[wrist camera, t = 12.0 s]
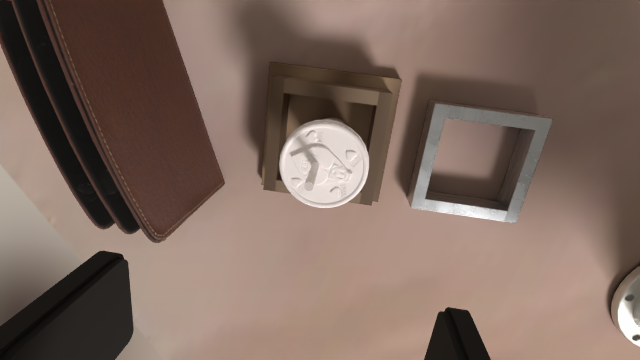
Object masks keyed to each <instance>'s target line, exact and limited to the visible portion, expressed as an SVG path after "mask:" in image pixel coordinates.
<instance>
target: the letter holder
mask: <svg viewBox="0 0 640 360" xmlns="http://www.w3.org/2000/svg"><path fill="white" fill-rule="evenodd" d="M0 44H1V47H2V49H3V52H4V54H5V57H6V59H7V61H8V64H9V66H10V68H11V71H12V73H13V75H14V78H15V80H16V82H17V85H18V87H19V89H20V92H21V94H22V96H23V98H24V100H25V103H26V105H27V107H28V109H29V111H30V113H31V115H32V117H33V119H34V121H35V123H36V125H37V127H38V129H39V131H40V133H41V136H42V138H43V140H44V142H45V144H46V146H47V147H48V149H49V151H50V153H51V155H52V157H53V159H54V161H55V163H56V165H57V167H58V168H59V170H60V172H61V174H62V176H63V177H64V179H65V181H66V183H67V184H68V186H69V188H70V190H71V191H72V193H73V195H74V196H75V198H76V200H77V201H78V203H79V204H80V206H81V207H82V209H83V210H84V212H85V213H86V215H87V216H88V217H89V219H90V220H91V221H92V222H93V223H94V225H95V226H97V227H98V228H100V229H107V228H109V227H111V226H112V225H113V224H115V223H116V224H117V226H118V227H119V229H121V230H122V231H123V232H124V233H126V234H133V233H135V232H137V231H138V230H139V229H140V228H141V229H142V231H143V232H144V234H145V235H146V236H147V237H148V239H149V240H151V241H152V242H154V243H159V242H162V241H164V240H165V239H166V238H167V237H168V236H170V235H171V234H172V233H173V232H174V231H175V230H176V229H177V228H178V227H179V226H180V225H181V224H182V223H183V222H184V221H185V220H186V219H187V218H188V217H189V216H191V215H192V214H193V213H194V212H195V211H196V210H197V209H198V208H199V207H200V206H201V205H203V203H204V202H206V201H207V200H208V199H209V198H210V197H211V196H212V195H213V194H214V193H215V192H217V191H218V190H219V189H220V188H221V187H222V186H223V185H224V184H225V182H224V179H223V176H222V174H221V171H220V168H219V165H218V163H217V160H216V157H215V154H214V151H213V149H212V146H211V143H210V140H209V137H208V134H207V131H206V128H205V125H204V122H203V119H202V116H201V113H200V109H199V107H198V103H197V100H196V98H195V95H194V92H193V89H192V86H191V83H190V80H189V77H188V74H187V71H186V68H185V65H184V62H183V60H182V57H181V54H180V51H179V48H178V45H177V42H176V39H175V36H174V33H173V30H172V27H171V24H170V22H169V19H168V16H167V13H166V10H165V7H164V4H163V1H162V0H0Z"/></svg>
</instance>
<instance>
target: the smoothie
mask: <svg viewBox="0 0 640 360" xmlns="http://www.w3.org/2000/svg"><path fill="white" fill-rule="evenodd" d="M279 167H280V174H281V177H282V180H283V182H284V184H285V186H286V188H287V189H288V190H289V191H290V193H291V194H292V195H293V196H294V197H296V198H297V199H298V200H300V201H301V202H303V203H305V204H308V205H310V206H314V207H319V208H331V207H336V206H340V205H342V204H345V203H347V202H348V201H350V200H351V199H353V198H354V197H355V196H356V195H357V194H358V193H359V192H360V191H361V189H362V188H363V186H364V184H365V182H366V179H367V176H368V170H369V155H368V152H367V148H366V145H365V144H364V142H363V141H362V139H361V137H360V136H359V135H358V134H357V133H356V132H355V131H354V130H353V129H352V128H350V127H349V126H347V125H346V124H345V123H344V122H343V121H342V120H340V119H337V118H333V117H330V118H325V119H322V120H314V121H311V122H308V123H305V124H303V125H302V126H300V127H299V128H297V129H296V130H294V132H293V133H292V134H291V135H290V136H289V137H288V138H287V140H286V142H285V144H284V146H283V149H282V151H281V155H280V161H279Z"/></svg>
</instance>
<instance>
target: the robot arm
mask: <svg viewBox="0 0 640 360" xmlns="http://www.w3.org/2000/svg"><path fill="white" fill-rule="evenodd" d="M611 314H612V319H613V322H614V324H615V326H616V328H617V329H618V330H619V331H620V332H621V333H622V334H623V335H624V337H626V338H627V339H628V340H629V341H630V342H631V343H633V344H635V345H637V346H638V347H640V266H638V267H637V268H636V269H634V270H633V271H632V272H631V273H630V274H628V275H627V276H626V278H625V279H624V280H623V281H622V282H621V284H620V285H619V287H618V288H617V290H616V292H615V294H614V297H613V300H612V304H611ZM132 334H133V318H132V305H131V293H130V281H129V268H128V262H127V260H125V259H124V257H123V255H122V254H119V253H113V252H107V251H99V252H98V253H96V254H95V255H93V256H92V257H91V258H90V259H88V260H87V261H86V262H84V263H83V264H82V265H80V266H79V267H78V268H77V269H75V270H74V271H73V272H71V273H70V274H69V275H67V276H66V277H65V278H64V279H62V280H61V281H59V282H58V283H57V284H55V285H54V286H53V287H51V288H50V289H49V290H48V291H46V292H45V293H44V294H42V295H41V296H40V297H38V298H37V299H36V300H34V301H33V302H32V303H30V304H29V305H28V306H27V307H25V308H24V309H23V310H21V311H20V312H19V313H17V314H16V315H15V316H13V317H12V318H11V319H9V320H8V321H7V322H6V323H4V324H3V325H2V326H0V360H115V359H116V358H117V356H118V355H119V354H120V353H121V351H122V350H123V349H124V348H125V346H126V345H127V344H128V342H129V341H130V339H131V337H132ZM424 360H491V359H490V357H489V355H488V352H487V350H486V348H485V346H484V344H483V341H482V339H481V337H480V335H479V332H478V330H477V328H476V326H475V323H474V321H473V319H472V317H471V314H470V313H469V311H467V310H462V309H456V308H449V307H448V308H446V309H445V311H444V312H442V311H440V312H439V313H438V315H437V319H436V322H435V325H434V329H433V332H432V335H431V339H430V342H429V345H428V349H427V352H426V355H425V359H424Z"/></svg>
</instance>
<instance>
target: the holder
mask: <svg viewBox="0 0 640 360" xmlns="http://www.w3.org/2000/svg"><path fill="white" fill-rule="evenodd" d="M445 118H450V119H458V120H465V121H472V122H480V123H487V124H494V125H502V126H509V127H516V128H521V130H520V133H519V136H518V139H517V142H516V145H515V148H514V151H513V154H512V157H511V161H510V164H509V167H508V170H507V173H506V176H505V179H504V182H503V185H502V188H501V191H500V194H499V197H498V200H497V201H495V200H489V199H482V198H475V197H468V196H461V195H454V194H447V193H440V192H433V191H427V189H428V184H429V180H430V176H431V172H432V168H433V164H434V160H435V156H436V152H437V148H438V144H439V140H440V136H441V132H442V128H443V124H444V120H445ZM552 121H553V119H551V118H548V117H544V116H541V115H538V114H531V113H523V112H516V111H508V110H501V109H494V108H486V107H479V106H471V105H464V104H456V103H449V102H442V101H434V100H429V104H428V108H427V113H426V117H425V121H424V126H423V130H422V134H421V139H420V143H419V147H418V152H417V156H416V161H415V165H414V169H413V174H412V178H411V182H410V187H409V191H408V196H407V199H408V202H409V204H410V207H411V208H415V209H422V210H429V211H435V212H442V213H449V214H456V215H463V216H469V217H476V218H483V219H490V220H497V221H503V222H510V223H516V221H517V219H518V216H519V213H520V210H521V207H522V205H523V202H524V199H525V196H526V193H527V191H528V188H529V185H530V182H531V179H532V177H533V174H534V171H535V168H536V165H537V163H538V160H539V157H540V154H541V152H542V149H543V146H544V143H545V140H546V138H547V135H548V132H549V129H550V126H551V124H552Z"/></svg>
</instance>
